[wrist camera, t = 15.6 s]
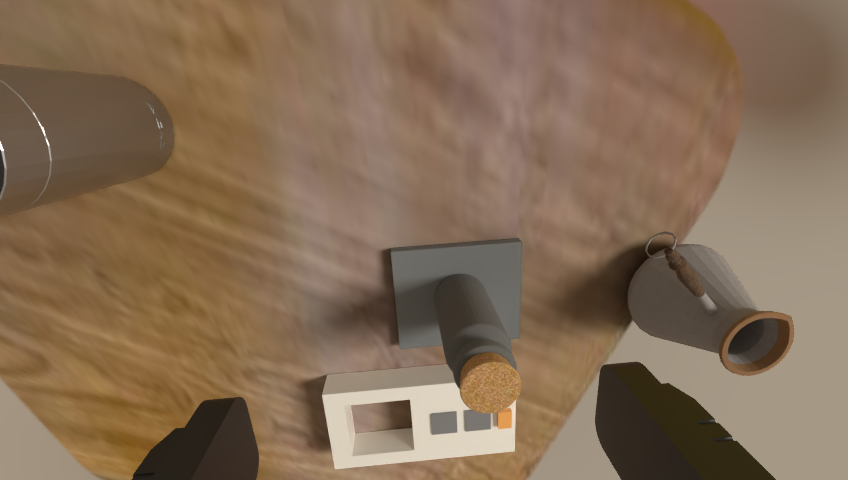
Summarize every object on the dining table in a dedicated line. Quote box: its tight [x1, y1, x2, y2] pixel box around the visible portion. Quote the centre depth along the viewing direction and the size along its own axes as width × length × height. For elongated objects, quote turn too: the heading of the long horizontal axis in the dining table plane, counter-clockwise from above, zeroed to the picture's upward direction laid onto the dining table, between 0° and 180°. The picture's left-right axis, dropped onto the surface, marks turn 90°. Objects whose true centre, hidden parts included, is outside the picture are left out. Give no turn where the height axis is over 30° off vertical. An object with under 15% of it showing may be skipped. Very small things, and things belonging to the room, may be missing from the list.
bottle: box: [434, 274, 521, 413], centre depth 37 cm, size 6×6×15 cm
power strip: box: [322, 364, 516, 469], centre depth 48 cm, size 22×11×4 cm, turn 93°
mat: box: [391, 238, 522, 349], centre depth 44 cm, size 14×12×1 cm
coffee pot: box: [627, 232, 794, 376], centre depth 38 cm, size 21×12×15 cm, turn 49°
